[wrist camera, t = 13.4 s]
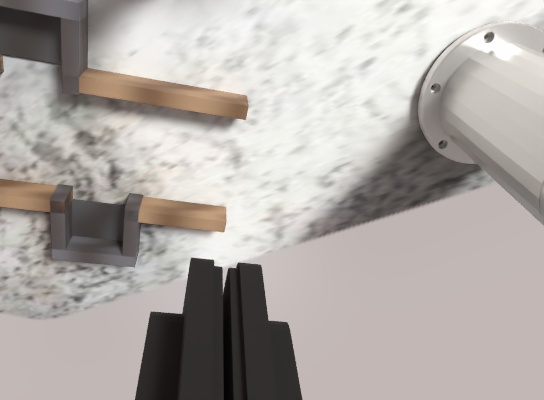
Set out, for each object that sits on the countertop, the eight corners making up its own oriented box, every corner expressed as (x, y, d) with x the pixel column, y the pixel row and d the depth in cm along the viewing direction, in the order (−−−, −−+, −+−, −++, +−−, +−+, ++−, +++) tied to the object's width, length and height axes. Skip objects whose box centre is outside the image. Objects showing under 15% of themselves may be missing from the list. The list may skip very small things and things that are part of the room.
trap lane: (258, 32, 36) (265, 50, 31) (216, 259, 47) (215, 299, 42) (-160, -52, 30) (-237, -48, 25) (-95, 227, 41) (-139, 269, 36)
